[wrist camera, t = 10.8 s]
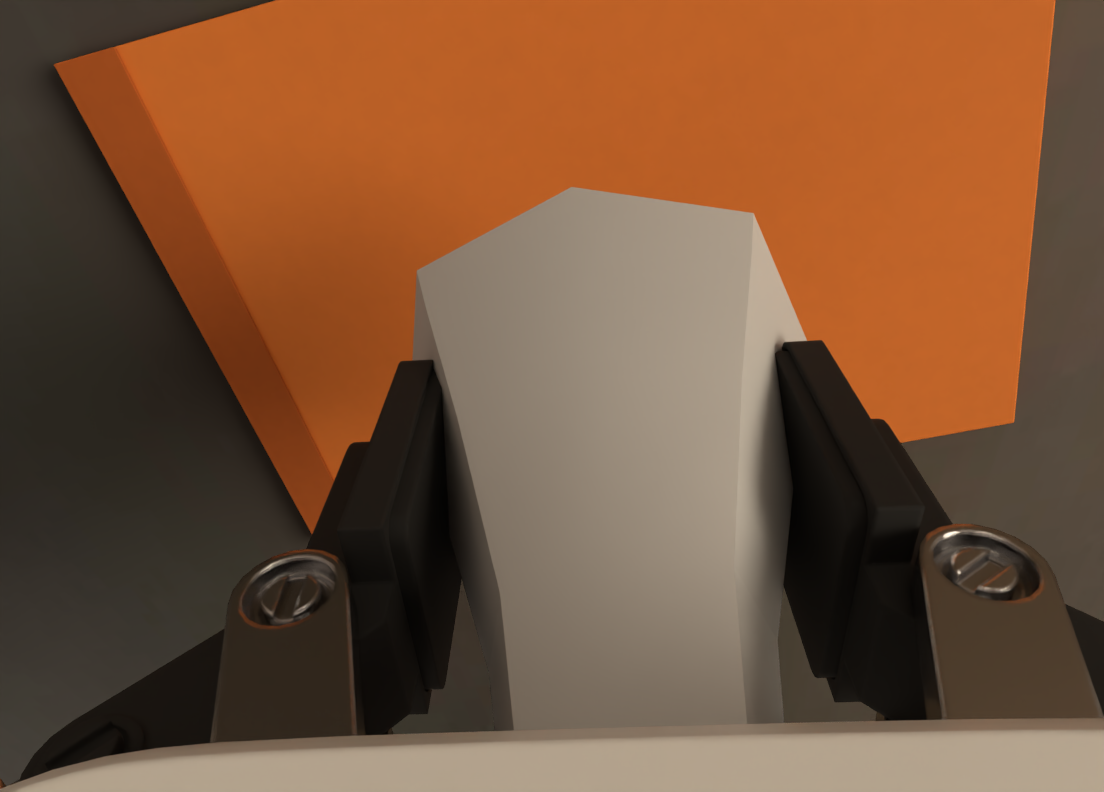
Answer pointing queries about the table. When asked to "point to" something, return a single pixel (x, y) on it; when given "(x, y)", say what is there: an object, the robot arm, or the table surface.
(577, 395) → the flask
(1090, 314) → the table surface
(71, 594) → the table surface
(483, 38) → the orange rectangular board
